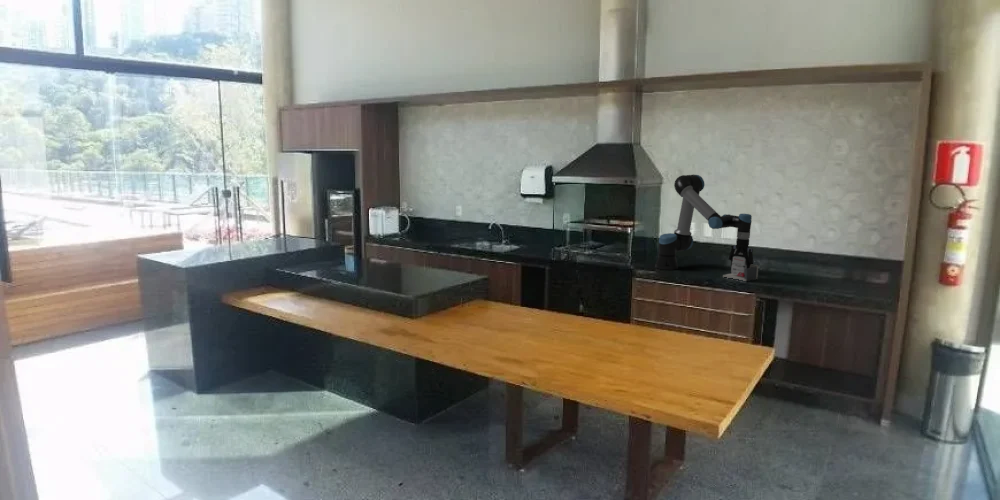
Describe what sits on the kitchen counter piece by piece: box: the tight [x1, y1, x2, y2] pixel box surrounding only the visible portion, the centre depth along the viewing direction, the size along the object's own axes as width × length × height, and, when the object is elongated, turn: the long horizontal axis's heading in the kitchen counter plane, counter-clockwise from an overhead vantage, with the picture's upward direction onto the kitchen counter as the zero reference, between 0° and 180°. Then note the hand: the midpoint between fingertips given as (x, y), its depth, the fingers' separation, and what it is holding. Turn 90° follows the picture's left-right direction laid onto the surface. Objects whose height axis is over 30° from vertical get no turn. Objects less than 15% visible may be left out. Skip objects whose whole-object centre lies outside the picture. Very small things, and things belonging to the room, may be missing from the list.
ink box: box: [730, 256, 746, 277], centre depth 370 cm, size 8×5×12 cm, turn 39°
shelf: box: [722, 263, 759, 282], centre depth 371 cm, size 16×13×9 cm
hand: (739, 272), depth 371 cm, fingers closed on ink box, 9 cm apart
